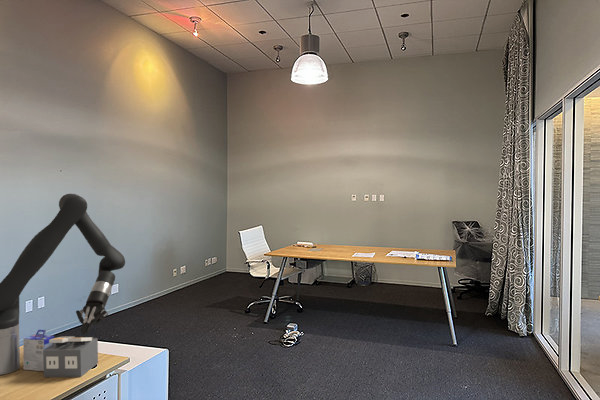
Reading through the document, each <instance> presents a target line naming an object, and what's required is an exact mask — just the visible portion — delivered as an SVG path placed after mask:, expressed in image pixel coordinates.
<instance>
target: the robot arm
mask: <svg viewBox="0 0 600 400" xmlns="http://www.w3.org/2000/svg"><path fill="white" fill-rule="evenodd" d="M58 207H59V211H58V213H56V215H55V217H54V218H53V219H52V221H51V222H49V223H48V225H46V226H45V227H44V228H43V229H41V230H40V231H38V233H37V234H35V235H34V236H33V238H32V239H31V240H30V241H29V242H28V243H27V245H26V246H25V247H24V249H23V250H22V252H21V253H20V254H19V256H18V258H17V259H16V261H15V263H13V264H14V265H13V266H12V268H11V270H10V271H9V272H8V274H7V275H6V276H5V277H4V278H3V279H2V280H1V282H0V375H1V376H2V375H7V374H10V373H13V372H15V371H17V370H19V369H20V368H21V356H20V355H21V353H20V352H21V350H20V349H21V348H20V345H21V344H20V295H21V294H22V292H23V290H24V289H25V287H26V286H27V284H28V283H29V282H30V280H31V279H33V277H34V276H35V275H36V274H37V273H38V272H39V271H40V269H41V268H42V267H44V265H45V264H46V263H47V261H49V259H50V258H51V256H53V254H54V252H55V251H56V250H57V248H58V246H60V244H61V242H62V241H63V240H64V239H65V237H66V235H67V234H68V233H69V232H70V230H71V229H72V227H73V226H76V227H77V229H78V230H79V231H80V233H81V234H82V236H83V237H84V239H85V240H86V242H87V244H88V245H89V246H90V248H91V249H92V251H93V252H94V254H95V255H97V256H100V257H102V258H101V259H100V261H99V264H98V275H97V278H96V280H95V281H94V284H93V286H92V288H91V290H90V292H89V294H88V297H87V300H86V304H85V305H84V306H83V307H82V309H81V310H76V311H75V313H76V316H77V318H78V321H79V323H80V324H81V325H82V326H81V328H80V333H81V334H82V335H87V334H89V332H90V331H91V328H92V326H93V325H98V324H99V323H100V322H101V321H103V320H104V319H105V318H106V317H108V316H109V313H108V311H107V310H105V309H106V308H105V307H106V305H107V303H108V302H109V301H108V300H109V297H110V296H111V292H112V288H113V286H114V283H115V280H116V275H115V274H114V272H112V271H117V270H121V269H122V268H124V267H125V265H126V258H125V257H124V255H123V254H122V253H121V252H120V250H118V249H116V248H115V246H113V245H111V243H110V241H109V240H108V239H107V237H106V236H105V234H104V233H103V232H102V230H101V229H100V228H99V227H98V226H97V225H96V223H95V222H94V221H93V219H92V218H91V217H90V215H89V214H88V212H87V210H88V203H87V201H86V199H85V198H84V197H82V196H80V195H79V194H76V193H65V194H64V195H63V196H61V197H60V199H59V201H58Z"/></svg>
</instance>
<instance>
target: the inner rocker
mask: <svg viewBox="0 0 600 400" xmlns="http://www.w3.org/2000/svg"><path fill="white" fill-rule="evenodd" d="M68 338H76V336H75V335H73V336H72V335H71V336H70V335H68V336H66V335H64V336H59V337H54V339H50V340H49V343H54V344H55V343H64V342H67V341H68Z"/></svg>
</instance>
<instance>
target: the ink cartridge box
mask: <svg viewBox="0 0 600 400" xmlns="http://www.w3.org/2000/svg"><path fill="white" fill-rule="evenodd" d="M46 331H47V330H46V329H38V330H37V332H36V333H35V334H32V335H30V336H27V337H25V338H23V340H22V342H23V344H22V345H23V348H22V349H23V355H22V356H23V361H22V362H23V363H22V364H23V366H22V367H23V370H25V371H27V370H28V371H36V372H37V371H38V372H44V365H43V350H45V349H46V348H48V347H50V346H51V345H53V344H55V343H49V340H50V339H54V338H55V335H47V334H46ZM41 332H42V333H41Z"/></svg>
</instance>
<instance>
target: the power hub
mask: <svg viewBox="0 0 600 400" xmlns="http://www.w3.org/2000/svg"><path fill="white" fill-rule="evenodd" d="M98 350H99V343H98V338H97V337H95V338H94V337H92V341H69V342H68V341H67V342H64V343H54V344H53V345H51V346H50V347H48V348H46V349H45V350H43V365H44V371H43V378H82V377H83V376H84V375H85V374H87V373H88V372H89V371H90V370H91V369H93V368H94V367H96V365H98V364H99V351H98Z"/></svg>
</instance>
